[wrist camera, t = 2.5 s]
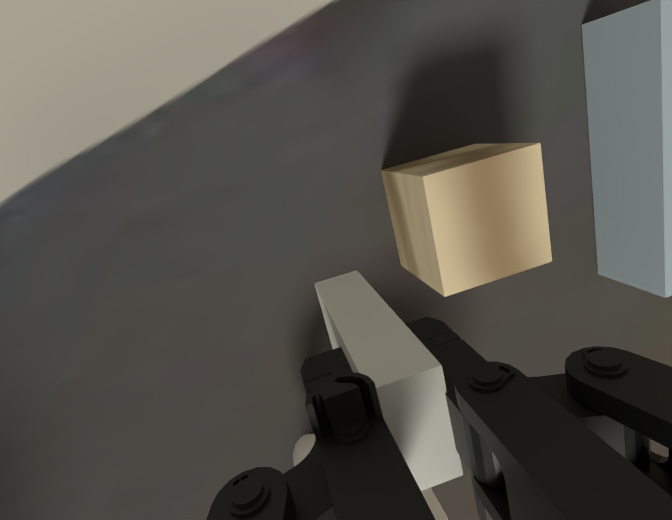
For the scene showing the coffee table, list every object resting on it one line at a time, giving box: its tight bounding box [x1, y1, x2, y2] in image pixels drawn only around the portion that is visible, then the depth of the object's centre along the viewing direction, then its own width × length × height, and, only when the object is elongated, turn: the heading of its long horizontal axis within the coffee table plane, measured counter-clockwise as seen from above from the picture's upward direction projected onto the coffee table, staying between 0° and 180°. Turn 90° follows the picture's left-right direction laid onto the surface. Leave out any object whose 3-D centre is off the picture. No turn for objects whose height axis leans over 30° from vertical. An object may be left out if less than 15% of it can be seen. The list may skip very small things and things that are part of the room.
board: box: [582, 0, 672, 298], centre depth 25 cm, size 2×16×5 cm, turn 14°
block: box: [381, 143, 552, 297], centre depth 23 cm, size 6×6×6 cm
